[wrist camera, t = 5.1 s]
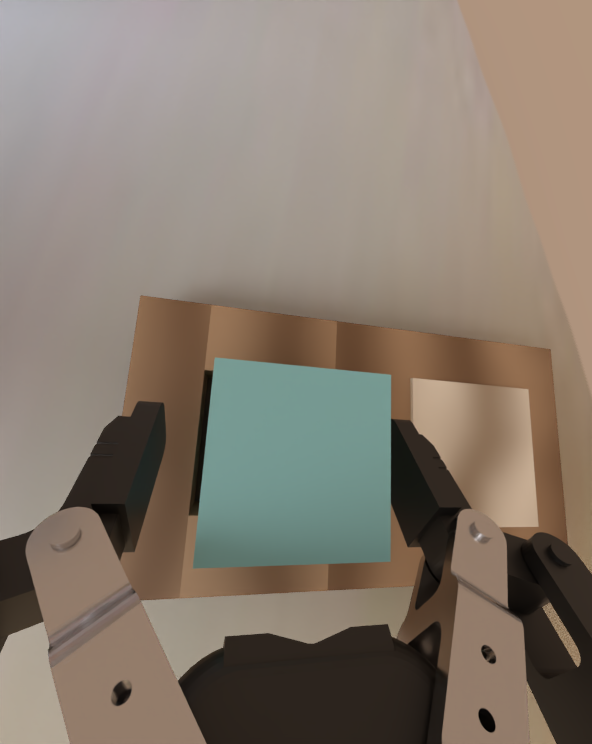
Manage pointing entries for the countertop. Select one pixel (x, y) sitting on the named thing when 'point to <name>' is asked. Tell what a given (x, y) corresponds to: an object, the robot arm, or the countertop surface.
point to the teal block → (295, 467)
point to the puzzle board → (408, 402)
